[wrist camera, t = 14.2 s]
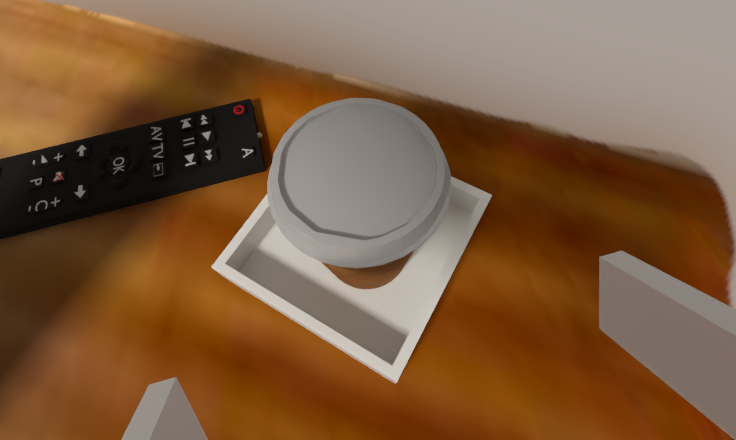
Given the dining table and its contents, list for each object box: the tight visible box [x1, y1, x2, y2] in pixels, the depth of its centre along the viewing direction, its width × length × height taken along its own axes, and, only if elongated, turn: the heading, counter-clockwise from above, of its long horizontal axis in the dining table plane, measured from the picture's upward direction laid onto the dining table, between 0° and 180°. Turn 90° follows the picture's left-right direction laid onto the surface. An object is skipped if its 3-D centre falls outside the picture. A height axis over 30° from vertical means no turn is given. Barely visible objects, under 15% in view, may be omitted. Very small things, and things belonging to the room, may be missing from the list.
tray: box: [211, 176, 492, 384], centre depth 29 cm, size 15×15×4 cm
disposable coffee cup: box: [267, 98, 451, 289], centre depth 24 cm, size 10×10×12 cm
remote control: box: [0, 99, 266, 239], centre depth 34 cm, size 8×32×2 cm, turn 106°
